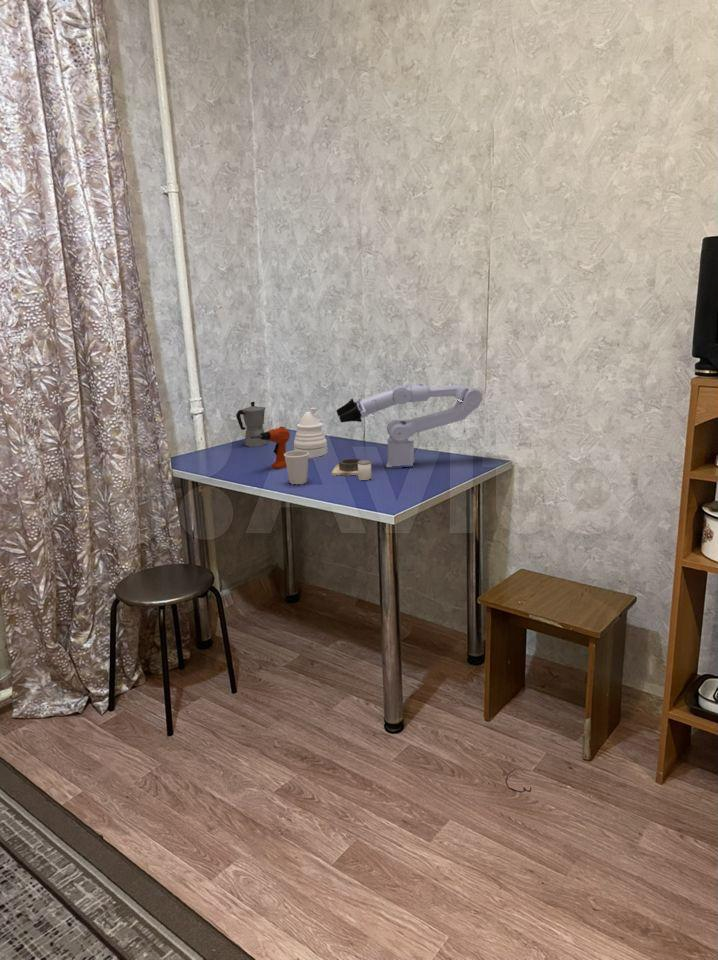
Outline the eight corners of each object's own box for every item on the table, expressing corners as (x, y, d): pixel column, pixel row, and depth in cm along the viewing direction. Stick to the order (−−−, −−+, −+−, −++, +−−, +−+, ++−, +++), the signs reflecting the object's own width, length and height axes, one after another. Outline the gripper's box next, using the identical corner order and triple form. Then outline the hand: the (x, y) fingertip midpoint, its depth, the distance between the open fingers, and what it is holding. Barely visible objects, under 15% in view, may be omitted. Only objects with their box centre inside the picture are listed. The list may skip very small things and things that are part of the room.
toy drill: (245, 470, 245) (246, 428, 243) (283, 465, 260) (284, 425, 257) (255, 472, 242) (255, 429, 240) (293, 467, 257) (294, 426, 254)
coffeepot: (260, 440, 299) (257, 398, 294) (275, 443, 293) (272, 400, 288) (232, 447, 288) (228, 404, 283) (246, 450, 282) (243, 406, 277)
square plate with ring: (369, 466, 251) (369, 457, 250) (366, 475, 239) (365, 465, 238) (336, 466, 252) (336, 457, 251) (331, 475, 241) (331, 465, 240)
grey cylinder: (372, 477, 237) (371, 460, 236) (370, 480, 233) (370, 463, 231) (359, 477, 238) (358, 460, 236) (357, 480, 234) (357, 463, 232)
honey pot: (329, 450, 277) (327, 405, 272) (324, 458, 265) (322, 411, 260) (297, 450, 279) (295, 405, 274) (291, 458, 266) (288, 411, 261)
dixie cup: (306, 486, 229) (304, 456, 227) (282, 485, 231) (280, 456, 229) (313, 479, 237) (312, 450, 234) (290, 478, 239) (288, 450, 236)
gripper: (368, 387, 249) (332, 400, 249) (375, 398, 236) (337, 411, 236) (374, 405, 252) (338, 418, 252) (381, 417, 239) (343, 430, 239)
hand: (338, 416), depth 244 cm, fingers open, 7 cm apart
